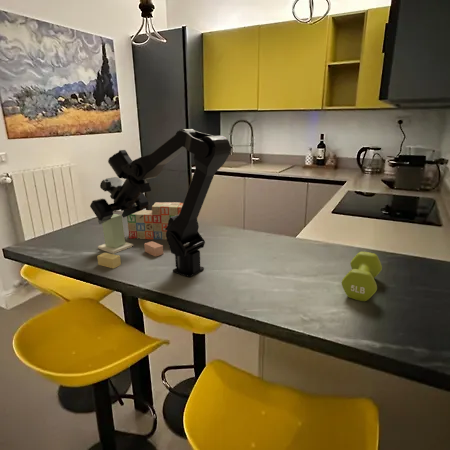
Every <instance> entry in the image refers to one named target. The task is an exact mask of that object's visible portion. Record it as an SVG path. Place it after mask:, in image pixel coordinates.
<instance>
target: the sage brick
mask: <svg viewBox="0 0 450 450" xmlns="http://www.w3.org/2000/svg"><path fill="white" fill-rule="evenodd" d="M123 223H124V222H123V216H122V214H117V213H113V216H112V217H111V219H110V220H108V221H106V222H104V223H102V224H101V226H102V231H103V237H104V238H103V239H104V244H105V245H106V246H107V247H113V248H116V247H119V246H121V245H123V244H125V242H126V239H125V238H126V237H125V232H124V224H123Z"/></svg>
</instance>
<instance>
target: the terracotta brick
mask: <svg viewBox="0 0 450 450" xmlns="http://www.w3.org/2000/svg"><path fill="white" fill-rule="evenodd" d="M144 252H145V253H147V254H148V255H152V256H153V257H159V256H161V255H164V245H163V244H160V243H158V242H155V241H153V240H152V241H148V242H145V243H144Z"/></svg>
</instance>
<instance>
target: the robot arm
mask: <svg viewBox="0 0 450 450" xmlns="http://www.w3.org/2000/svg"><path fill="white" fill-rule="evenodd" d="M186 150H187V152H189V153H191V154H193V161H194V166H195V169H194V172H193V175H192V178H191V181H190V183H189V187H188V189H187V191H186V194H185V197H184V199H183V202H182V203H183V206H182V208H181V211H180V214H179V215H176V216H173V217H170V219H169V221H168V226H167V227H166V229H165V230H167V231H166V237H167V239H166V240H167V244H168V247H169V250H170V253H171V254H172V255H174V259H175V268H173V269H172V272H173V273H176V274H179V275H181V276H185V277H188V278H191V277H193V276H195V275H197V274H198V273H200V272H202V271H204V270H205V267H203V266H201V250H200V249H203V248H204V247H205V244H206V242H205V241H206V240H205V239H204V238H203V237H202V235H201V234H200V232H199V227H200V226H199V221H198V217H199V215H200V213H201V210H202V208H203V207H202V206H203V204H204V201H205V199H206V197H207V194H208V191H209V188H210V187H211V183H212V181H213V178H214V177H215V174H216V173H217V172H218V171H219V169H221V167H223V166H224V165H225V163H226V161H227V160H228V157H229V156H230V154H231V152H232V146H231V143H230V141H229V139H228V138H227V137H226V136H224V135H212V134H209V133H205V132H200V131H198V130H195V129H193V128H182V129H179V130H177V131H176V133H175V134H174V135H173V136H171V137H170V138H169V139H167V141H165V142H164V143H163V144H161V145H160V146H159V147H157V148H156V149H155V150H154V151H152V152H151V153H149V154H146V155H143V156H140V157H138V158H136V159H133V160H132V159H131V157H130V156H129V153H128V152H127V151H126V149H119V151H118V152H116V153H114V154H113V155H111V156H110V157H109V158H108V160H107V163H108V164H109V166H110V168H111V169H112V171H113V172H114V173H115V174H116V176H114V177H113V176H112V177H107V178H105V179H102V181H100V186H99V187H100V189H101V190H103V191H104V192H108V193H109V194H110V196H109V197H110V198H111V200H113V203H112V202H111V203H108V201H107V199H106V198H99V199H94V200H92V201H91V203H90V205H89V207H90V209H91V210H92V213H94V215H95V217H96V218H97V221H98V224H99V225H102V223H104V222H106V221H108V220H110V219H111V217H112V216H113V214H114V212H117V211H121V212H122V214H121V216H122V219H125V218H127V216H129V215H131V214H134V213H136V212H138V211H141V210H147V208H148V207H149V205H150V200H149V199H148V198H147V196H146V195H145V194H144V193H149V192H152V188H151V185H150V182H148V181H147V180H149V179H155V178H157V177H158V176H159V175H160V174H161V173H162V172H163V170H164V167H165V165H166V164H168V163H170V162H171V161H172V160H174V159H175V158H176V157H177V156H179V155H181V154H182V153H184V152H185V151H186ZM121 179H124V181H123V180H121Z"/></svg>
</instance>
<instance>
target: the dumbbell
mask: <svg viewBox="0 0 450 450" xmlns="http://www.w3.org/2000/svg"><path fill="white" fill-rule="evenodd" d="M382 265H383V264H382V262H381V260H380V259H379V256H378V255H377V253H374V252H370V251H369V252H368V251H359V252H358V253H356V255H355V256H354V257H353V258H352V259H351V261H350V267H351V269H350V270H349V271H348V272H347V273H346V274H345V276H344V277H343V278H342V280H341V286H342V289H343V292H344V293H345V295H346V296H347V297H348V298H349V299H351V300H354V301H355V300H356V301H360V302H368V301H369V300H370V298H372V296H373V295H374V294H376V292H377V290H378V286H377V282H376V280H375V278H376V277H377V276H378V275H379V274H380V273H381V271H382V269H383V266H382Z"/></svg>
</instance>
